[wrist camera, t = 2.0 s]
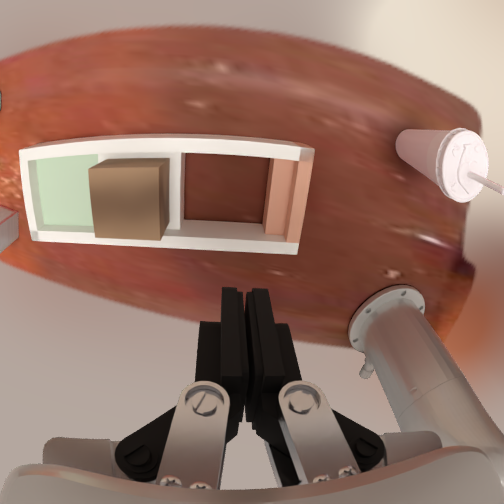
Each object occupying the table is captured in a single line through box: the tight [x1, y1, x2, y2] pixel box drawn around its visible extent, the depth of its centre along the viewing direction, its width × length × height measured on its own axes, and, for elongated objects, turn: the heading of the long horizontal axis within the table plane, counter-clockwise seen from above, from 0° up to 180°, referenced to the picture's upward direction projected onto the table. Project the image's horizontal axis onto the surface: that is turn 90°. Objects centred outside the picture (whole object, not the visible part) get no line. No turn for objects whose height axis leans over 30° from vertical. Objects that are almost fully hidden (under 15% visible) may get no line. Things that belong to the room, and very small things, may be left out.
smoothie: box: [396, 128, 504, 202], centre depth 20 cm, size 6×6×14 cm
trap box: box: [19, 134, 315, 255], centre depth 25 cm, size 10×28×4 cm, turn 85°
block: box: [88, 158, 170, 241], centre depth 22 cm, size 6×6×4 cm
